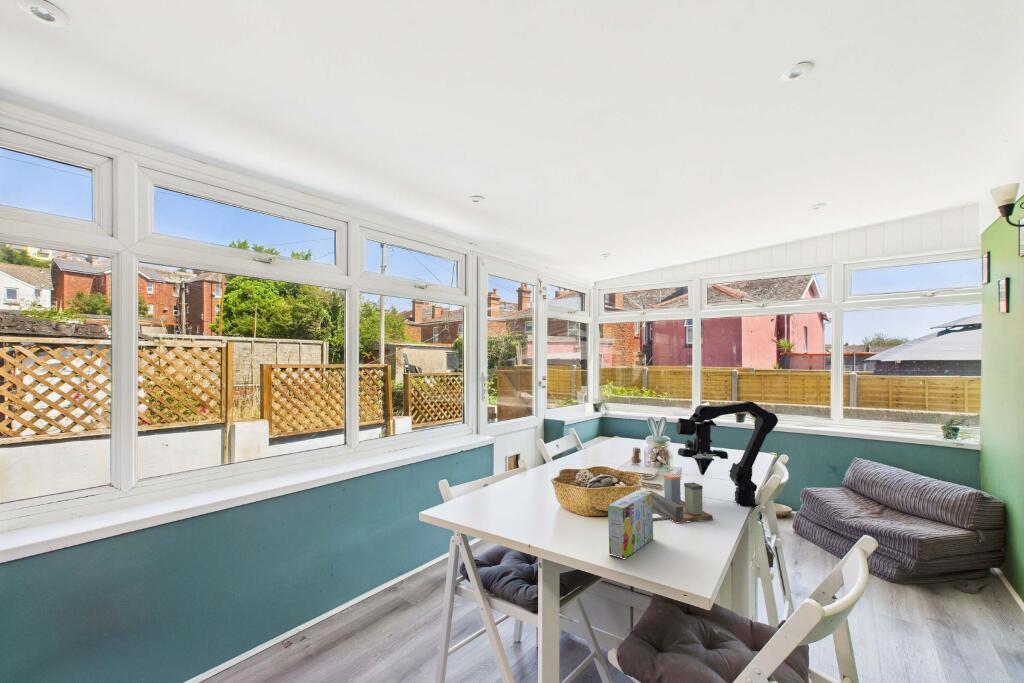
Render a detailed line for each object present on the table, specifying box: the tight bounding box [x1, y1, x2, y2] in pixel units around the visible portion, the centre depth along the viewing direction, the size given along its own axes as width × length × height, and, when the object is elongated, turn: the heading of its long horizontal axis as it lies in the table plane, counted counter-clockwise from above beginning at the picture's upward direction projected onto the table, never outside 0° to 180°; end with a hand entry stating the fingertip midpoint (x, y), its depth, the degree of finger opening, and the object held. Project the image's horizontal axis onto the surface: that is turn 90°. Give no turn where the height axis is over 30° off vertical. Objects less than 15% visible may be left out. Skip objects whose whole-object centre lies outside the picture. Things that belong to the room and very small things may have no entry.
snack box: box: [607, 489, 654, 559], centre depth 144 cm, size 21×6×15 cm, turn 141°
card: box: [652, 508, 670, 521], centre depth 175 cm, size 8×14×1 cm, turn 13°
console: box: [646, 490, 714, 523], centre depth 177 cm, size 15×22×6 cm
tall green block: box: [683, 481, 704, 515], centre depth 171 cm, size 4×5×10 cm
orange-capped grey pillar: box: [663, 473, 682, 503], centre depth 185 cm, size 4×5×10 cm
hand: (702, 475), depth 188 cm, fingers closed
